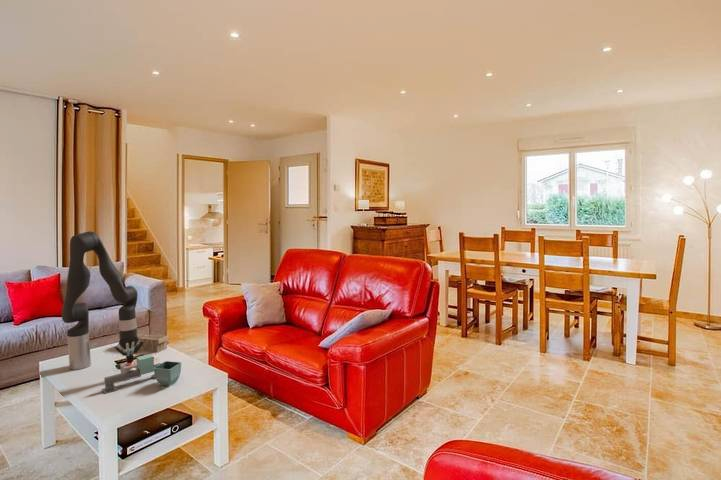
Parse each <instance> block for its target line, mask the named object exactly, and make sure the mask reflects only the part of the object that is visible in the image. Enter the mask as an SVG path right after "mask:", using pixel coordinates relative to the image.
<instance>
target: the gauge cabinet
mask: <svg viewBox="0 0 721 480" xmlns="http://www.w3.org/2000/svg"><path fill="white" fill-rule="evenodd" d="M133 361H134V365H131V366H127V362H125V363H121V364H120V365H119V366H120V373H124V372H128V371H132V370H136V369H137V360H133ZM139 377H142V375H139V376H135V377H132V378H128V379H124V381H128V380H132V379H136V378H139Z"/></svg>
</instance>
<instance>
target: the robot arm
mask: <svg viewBox="0 0 721 480" xmlns="http://www.w3.org/2000/svg"><path fill="white" fill-rule="evenodd" d="M106 249H107V248H106V247H105V246H104V243H103V242H102V240H101V238H100V237H99V235H98V234H97V233H96V232H94V231H92V230H91V231H85V232H82V233H77V234H74V235H72V236H71V238H70V241H69V263H68V264H69V265H68V273H67V279H66V291H65V297H64V300H63V305H62V310H61V319H62V321H63V322H64V323H65V324H71V323H76V322H77V323H76V324H75V325H74V326H72V327H70V328H69V329H67V331H66V335H67V336H66V337H67V338H66V339H67V349H68V363H69V365H68V366H69V370H73V371H74V370H76V371H77V370H83V369H86V368H88V367H90V366H91V365H92V358H91V348H90V346H91V345H90V343H91V342H90V331H89V327H90V325H89V323H90V322H89V321H90V319H89V317H90V316H89V315H90V313H89V312H90V311H89V307H88V304H87V303H86V302H78V303H77V300H78V299H79V298H80V297H81V296H82V295H83V293H85V292H86V290H87V289H88V287H89V285H90V282H91V281H90V280H91V271H90V269H89V268H88V267H87V265H86V264H85V262H84V259H85V253H89V252H91V251H93V253H94V254H95V255H96V256H97V259H98V268H99V274H100V276H101V277H102V279H103V280H104V281H105V282H106V284H107V285H108V288H109V290H110V292H111V295H112V297H113V299H114V300H115V301H116V302H118V303H119V304H122V305H121V307H120V308H119V309H118V331H119V332H118V333H119V335H118V336H119V337H120V339H119V341H118V344H117V345H115V346H114V347H113V348H114V350H116V351H117V352H118V353H119V354H121V355H122V356H123V357H125V361H126V363H127V362H128V363H132V361H135V360H134V355H135V354H137V353H139V352H140V351H139V349H140V348H141V346H142V345H143V343H144V342H143V341H140V340H139V339H138V337H137V334H138V325H137V324H138V323H137V317H136V308H137V303H138V295H139V294H138V291H137V289H136V287H134V286H132V285H129V286H127V285H126V286H125V287H124V286H123V283H124V281H125V279H124V278H125V277H123V275H122V274H121V272H120V271H119V269H117V267H116V266H115V264H114V262H113V261H112V259H111V258H110V255H109V253H108V251H107V250H106ZM137 342H138V343H137ZM136 344H137V346H136V347H135V345H136ZM120 346H122V347H123V348H124V349H121V347H120ZM134 347H135V349H134ZM123 350H124V351H125V352H124V351H123Z"/></svg>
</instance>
